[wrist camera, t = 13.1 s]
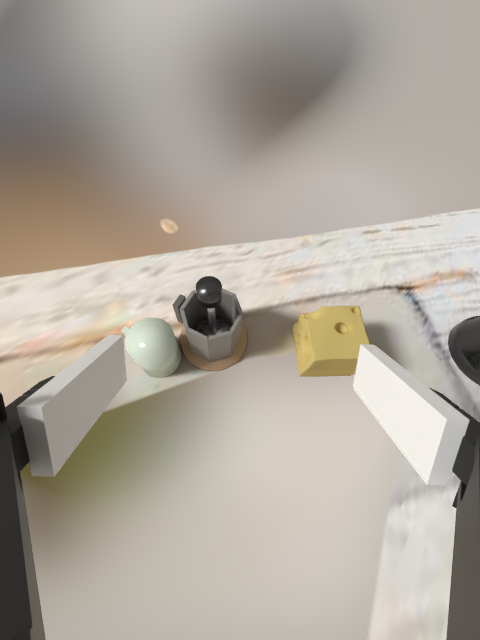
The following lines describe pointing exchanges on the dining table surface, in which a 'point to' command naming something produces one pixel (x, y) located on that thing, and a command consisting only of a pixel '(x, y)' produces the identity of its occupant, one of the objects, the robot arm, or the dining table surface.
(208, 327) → the plunger
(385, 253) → the dining table surface
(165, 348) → the pale green dome knob
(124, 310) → the dining table surface
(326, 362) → the cheese
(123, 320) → the dining table surface
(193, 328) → the grey octagonal cup
